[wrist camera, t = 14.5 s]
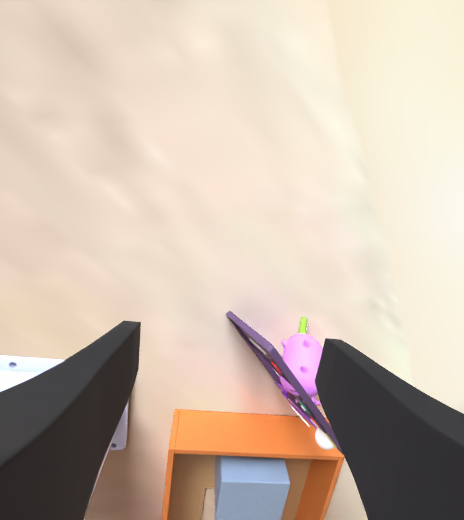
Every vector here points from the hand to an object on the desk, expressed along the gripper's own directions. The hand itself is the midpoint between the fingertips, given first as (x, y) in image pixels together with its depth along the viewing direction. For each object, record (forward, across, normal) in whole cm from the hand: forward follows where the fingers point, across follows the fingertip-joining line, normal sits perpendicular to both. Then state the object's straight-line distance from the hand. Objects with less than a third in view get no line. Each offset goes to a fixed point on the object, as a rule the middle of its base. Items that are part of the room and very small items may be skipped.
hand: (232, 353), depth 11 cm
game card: (+10, -5, +5) cm, 12 cm away
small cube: (+9, -4, +16) cm, 19 cm away
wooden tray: (+9, -4, +22) cm, 24 cm away
